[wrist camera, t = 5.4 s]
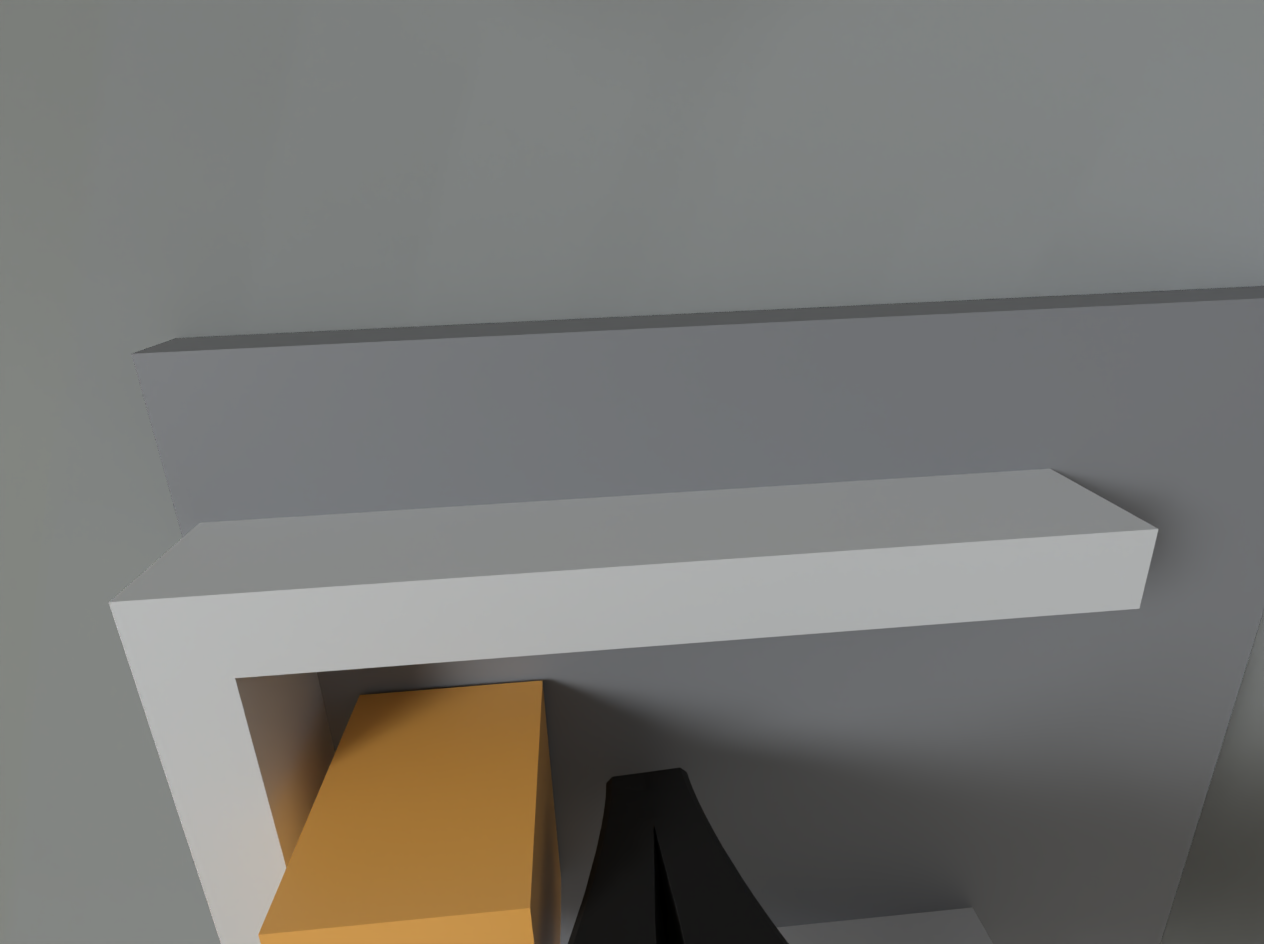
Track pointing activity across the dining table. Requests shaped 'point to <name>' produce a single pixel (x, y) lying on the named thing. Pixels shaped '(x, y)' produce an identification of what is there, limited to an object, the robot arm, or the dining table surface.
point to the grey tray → (737, 588)
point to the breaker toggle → (430, 826)
